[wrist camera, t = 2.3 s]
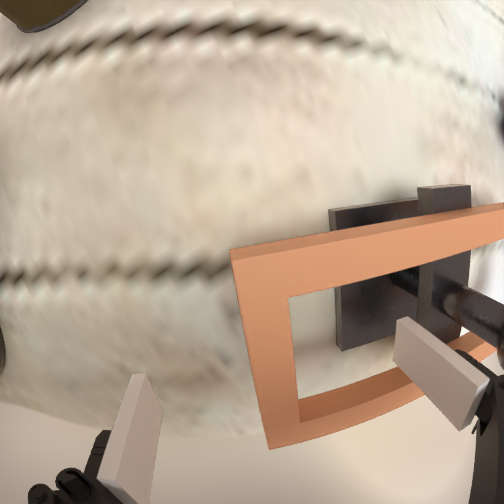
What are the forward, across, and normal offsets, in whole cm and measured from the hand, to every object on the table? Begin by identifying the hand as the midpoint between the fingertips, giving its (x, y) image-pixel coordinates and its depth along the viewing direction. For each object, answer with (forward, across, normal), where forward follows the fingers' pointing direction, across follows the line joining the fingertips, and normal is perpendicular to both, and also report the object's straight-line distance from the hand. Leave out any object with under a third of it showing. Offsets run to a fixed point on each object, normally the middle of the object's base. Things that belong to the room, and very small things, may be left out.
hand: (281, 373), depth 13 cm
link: (+2, +13, 0) cm, 13 cm away
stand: (+9, +12, 0) cm, 16 cm away
